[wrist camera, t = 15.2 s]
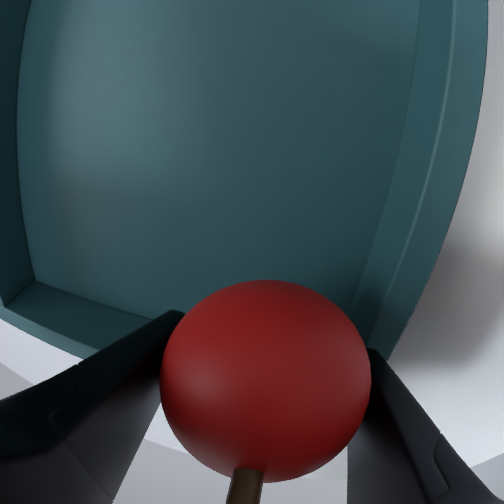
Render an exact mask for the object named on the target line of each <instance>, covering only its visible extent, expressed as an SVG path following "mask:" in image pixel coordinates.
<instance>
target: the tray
mask: <svg viewBox="0 0 504 504" xmlns="http://www.w3.org/2000/svg"><path fill="white" fill-rule="evenodd" d="M487 40H488V0H0V319H2V320H4V321H6V322H8V323H9V324H11V325H13V326H15V327H17V328H19V329H20V330H22V331H24V332H26V333H28V334H30V335H32V336H34V337H36V338H38V339H40V340H42V341H44V342H46V343H48V344H50V345H52V346H55V347H57V348H59V349H61V350H63V351H65V352H68V353H70V354H72V355H74V356H77V357H79V358H81V359H86V358H88V357H90V356H91V355H93V354H95V353H96V352H98V351H100V350H102V349H103V348H105V347H107V346H109V345H110V344H112V343H114V342H115V341H117V340H119V339H121V338H122V337H124V336H126V335H128V334H129V333H131V332H133V331H134V330H136V329H138V328H140V327H141V326H143V325H145V324H146V323H148V322H150V321H152V320H153V319H155V318H157V317H158V316H160V315H162V314H164V313H165V312H167V311H169V310H171V309H173V310H177V311H181V312H184V313H185V315H186V314H187V313H188V312H189V311H190V310H191V309H192V308H193V307H194V306H195V305H196V304H197V303H199V302H200V301H202V300H203V299H205V298H206V297H208V296H209V295H211V294H212V293H214V292H216V291H218V290H220V289H222V288H225V287H228V286H231V285H234V284H237V283H241V282H246V281H251V280H280V281H287V282H291V283H295V284H299V285H302V286H304V287H307V288H310V289H312V290H314V291H316V292H318V293H320V294H321V295H323V296H324V297H326V298H327V299H329V300H330V301H332V302H333V303H334V304H336V305H337V306H338V307H339V308H340V309H341V310H342V311H343V312H344V313H345V314H346V315H347V317H348V318H349V319H350V320H351V322H352V323H353V324H354V325H355V327H356V329H357V331H358V332H359V334H360V336H361V338H362V340H363V342H364V344H365V348H371V349H376V350H377V351H378V352H379V353H380V355H381V356H382V357H383V358H384V360H385V361H386V362H387V361H388V359H389V357H390V355H391V354H392V352H393V350H394V348H395V347H396V345H397V343H398V341H399V339H400V337H401V335H402V333H403V332H404V330H405V328H406V326H407V324H408V322H409V320H410V318H411V316H412V314H413V312H414V310H415V308H416V306H417V303H418V301H419V299H420V297H421V295H422V293H423V291H424V288H425V286H426V284H427V282H428V279H429V277H430V275H431V272H432V270H433V267H434V265H435V263H436V260H437V258H438V255H439V253H440V250H441V248H442V245H443V242H444V240H445V237H446V234H447V231H448V229H449V226H450V223H451V220H452V217H453V214H454V211H455V208H456V205H457V202H458V198H459V195H460V192H461V188H462V185H463V181H464V178H465V174H466V171H467V167H468V163H469V159H470V155H471V151H472V146H473V142H474V137H475V132H476V127H477V122H478V117H479V111H480V105H481V99H482V92H483V85H484V76H485V67H486V56H487Z"/></svg>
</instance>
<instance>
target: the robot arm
mask: <svg viewBox="0 0 504 504" xmlns="http://www.w3.org/2000/svg"><path fill="white" fill-rule="evenodd" d="M184 316H185V313H184V312H181V311H177V310H173V309H171V310H169V311H167V312H165V313H164V314H162V315H160V316H158V317H157V318H155V319H153V320H152V321H150V322H148V323H146V324H145V325H143V326H141V327H140V328H138V329H136V330H134V331H133V332H131V333H129V334H128V335H126V336H124V337H122V338H121V339H119V340H117V341H115V342H114V343H112V344H110V345H109V346H107V347H105V348H103V349H102V350H100V351H98V352H96V353H95V354H93V355H91V356H90V357H88V358H86V359H84V360H83V361H81V362H79V363H78V365H77V364H75V365H74V366H72V367H70V368H68V369H67V370H65V371H63V372H61V373H59V374H57V375H56V376H54V377H52V378H50V379H48V380H46V381H43V382H41V383H39V384H37V385H35V386H33V387H30V388H28V389H25V390H23V391H21V392H18V393H16V394H14V395H11V396H9V397H6V398H4V399H2V400H0V504H112V503H113V501H112V500H114V498H115V496H116V494H117V492H118V490H119V488H120V486H121V483H122V481H123V479H124V477H125V475H126V473H127V471H128V469H129V467H130V465H131V462H132V460H133V458H134V456H135V454H136V452H137V450H138V448H139V446H140V444H141V442H142V440H143V437H144V435H145V433H146V431H147V429H148V427H149V425H150V423H151V421H152V419H153V417H154V415H155V413H156V411H157V409H158V407H159V405H160V402H161V398H160V391H159V374H160V367H161V362H162V357H163V353H164V350H165V348H166V345H167V343H168V341H169V338H170V336H171V334H172V332H173V331H174V329H175V328H176V326H177V325H178V324H179V322H180V321H181V319H182V318H183V317H184ZM366 351H367V354H368V358H369V361H370V370H371V390H370V398H369V403H368V407H367V410H366V413H365V416H364V418H363V421H362V423H361V425H360V427H359V429H358V430H357V432H356V434H355V435H354V437H353V438H352V439H351V441H350V442H349V443H348V481H347V485H348V486H347V504H504V501H503V500H501V499H499V498H498V497H496V496H495V495H494V494H493V493H492V492H491V491H490V490H489V489H488V488H487V487H486V486H485V485H484V484H483V482H482V481H481V480H480V479H479V478H478V477H477V476H476V475H475V474H474V472H473V471H472V470H471V469H470V468H469V467H468V466H467V465H466V463H465V462H464V461H463V460H462V459H461V458H460V456H459V455H458V454H457V453H456V451H455V450H454V449H453V448H452V446H451V445H450V444H449V442H448V441H447V440H446V438H445V437H444V436H443V434H440V431H439V429H438V428H437V427H436V425H435V424H434V423H433V421H432V420H431V419H430V417H429V416H428V415H427V413H426V412H425V411H424V409H423V408H422V407H421V406H420V404H419V403H418V402H417V400H416V399H415V398H414V397H413V395H412V394H411V393H410V391H409V390H408V389H407V388H406V386H405V385H404V384H403V382H402V381H401V380H400V379H399V377H398V376H397V375H396V374H395V372H394V371H393V370H392V369H391V367H390V366H389V365H388V363H387V362H386V361H385V360H384V358H383V357H382V356H381V355H380V353H379V352H378V351H377V350H376V349H371V348H366Z"/></svg>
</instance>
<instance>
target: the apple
mask: <svg viewBox="0 0 504 504" xmlns="http://www.w3.org/2000/svg"><path fill="white" fill-rule="evenodd" d="M370 390H371V370H370V361H369V358H368V354H367V351H366V348H365V344H364V342H363V340H362V338H361V336H360V334H359V332H358V331H357V329H356V327H355V325H354V324H353V323H352V322H351V320H350V319H349V318H348V317H347V315H346V314H345V313H344V312H343V311H342V310H341V309H340V308H339V307H338V306H337V305H336V304H334V303H333V302H332V301H330V300H329V299H327V298H326V297H324V296H323V295H321V294H320V293H318V292H316V291H314V290H312V289H310V288H307V287H304V286H302V285H299V284H295V283H291V282H287V281H280V280H251V281H246V282H241V283H237V284H234V285H231V286H228V287H225V288H222V289H220V290H218V291H216V292H214V293H212V294H211V295H209V296H208V297H206V298H205V299H203V300H202V301H200V302H199V303H197V304H196V305H195V306H194V307H193V308H192V309H191V310H190V311H189V312H188V313H187V314H186V315H185V316H184V317H183V318H182V319H181V321H180V322H179V324H178V325H177V326H176V328H175V329H174V331H173V332H172V334H171V336H170V338H169V341H168V343H167V345H166V348H165V350H164V353H163V357H162V362H161V367H160V374H159V391H160V398H161V403H162V407H163V411H164V414H165V417H166V419H167V421H168V424H169V426H170V427H171V429H172V431H173V433H174V435H175V436H176V438H177V439H178V440H179V442H180V443H181V444H182V445H183V447H184V448H185V449H186V450H187V451H188V452H189V453H190V454H191V455H192V456H194V457H195V458H196V459H197V460H198V461H200V462H201V463H202V464H204V465H205V466H207V467H209V468H211V469H212V470H214V471H216V472H218V473H220V474H222V475H225V476H228V477H230V478H231V482H230V487H229V491H228V495H227V499H226V504H259V503H260V497H261V492H262V486H263V483H272V482H280V481H286V480H291V479H295V478H298V477H301V476H303V475H306V474H308V473H311V472H313V471H315V470H317V469H319V468H320V467H322V466H323V465H325V464H326V463H328V462H329V461H331V460H332V459H333V458H334V457H335V456H337V455H338V454H339V453H340V452H341V451H342V450H343V449H344V448H345V447H346V446H347V444H348V443H349V442H350V441H351V439H352V438H353V437H354V435H355V434H356V432H357V430H358V429H359V427H360V425H361V423H362V421H363V418H364V416H365V413H366V410H367V407H368V403H369V398H370Z"/></svg>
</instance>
